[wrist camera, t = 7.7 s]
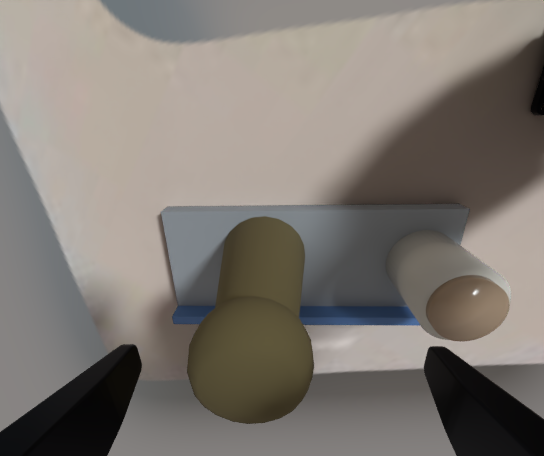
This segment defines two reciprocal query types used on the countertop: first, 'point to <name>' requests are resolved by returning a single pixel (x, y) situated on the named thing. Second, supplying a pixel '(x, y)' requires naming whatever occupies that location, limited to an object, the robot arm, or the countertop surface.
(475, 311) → the ceramic jar
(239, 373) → the olive waisted cylinder
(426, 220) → the shelf
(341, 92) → the countertop surface
